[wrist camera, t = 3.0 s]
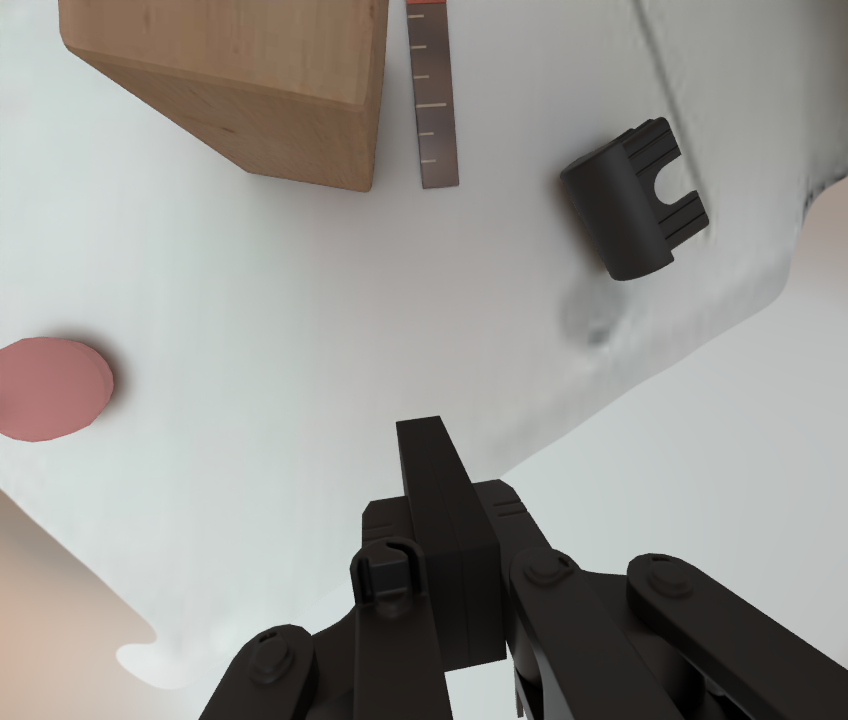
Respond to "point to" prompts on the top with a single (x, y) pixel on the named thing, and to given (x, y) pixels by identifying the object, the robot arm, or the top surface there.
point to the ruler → (433, 92)
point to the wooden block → (250, 76)
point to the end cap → (632, 201)
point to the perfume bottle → (51, 388)
